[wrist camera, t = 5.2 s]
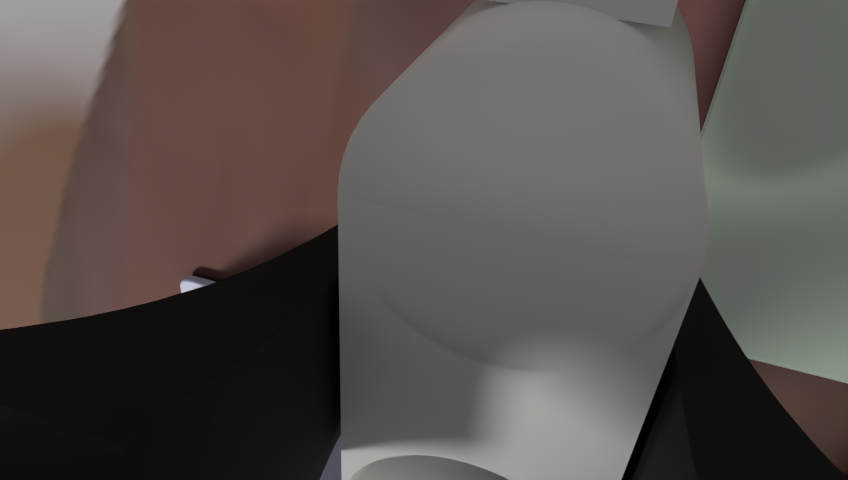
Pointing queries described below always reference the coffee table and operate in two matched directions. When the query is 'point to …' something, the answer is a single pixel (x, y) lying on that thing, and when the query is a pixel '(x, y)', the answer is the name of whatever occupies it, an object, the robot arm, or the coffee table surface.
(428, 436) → the connector
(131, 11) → the coffee table surface
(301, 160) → the coffee table surface
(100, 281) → the coffee table surface
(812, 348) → the mat
